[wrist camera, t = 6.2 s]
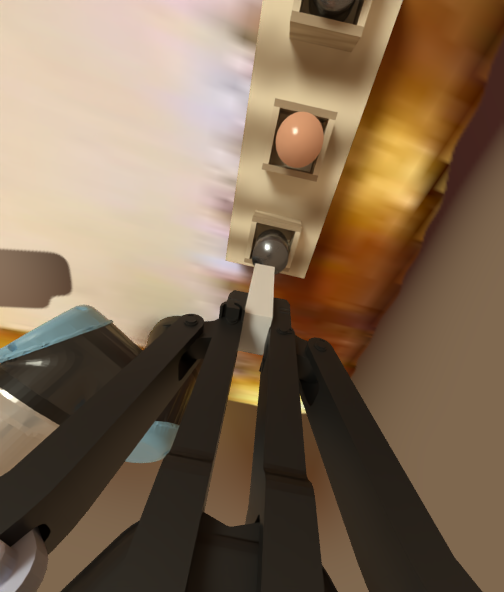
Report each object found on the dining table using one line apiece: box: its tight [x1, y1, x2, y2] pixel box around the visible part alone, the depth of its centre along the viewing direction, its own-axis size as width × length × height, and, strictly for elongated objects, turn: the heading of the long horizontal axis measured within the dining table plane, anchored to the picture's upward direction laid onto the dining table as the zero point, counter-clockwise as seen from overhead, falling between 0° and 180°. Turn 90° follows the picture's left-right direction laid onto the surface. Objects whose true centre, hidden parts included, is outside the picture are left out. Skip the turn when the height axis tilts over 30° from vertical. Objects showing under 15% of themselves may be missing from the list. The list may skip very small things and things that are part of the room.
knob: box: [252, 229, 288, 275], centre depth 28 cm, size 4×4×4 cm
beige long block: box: [226, 0, 403, 278], centre depth 28 cm, size 32×12×10 cm, turn 169°
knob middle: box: [276, 112, 324, 168], centre depth 22 cm, size 4×4×4 cm
